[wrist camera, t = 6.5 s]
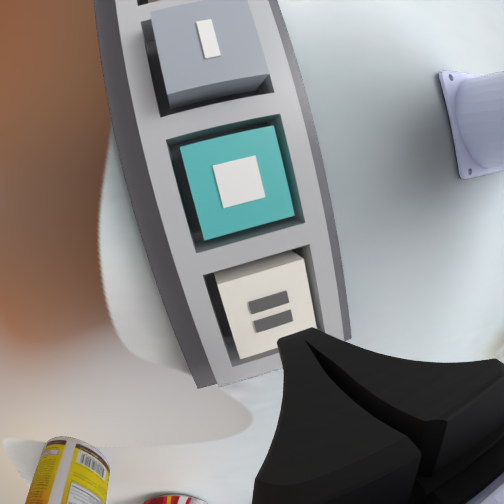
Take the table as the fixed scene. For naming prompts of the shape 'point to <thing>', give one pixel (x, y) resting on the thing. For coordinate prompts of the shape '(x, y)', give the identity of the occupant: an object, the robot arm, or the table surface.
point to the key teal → (237, 181)
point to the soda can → (174, 500)
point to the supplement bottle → (69, 474)
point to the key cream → (266, 301)
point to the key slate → (208, 50)
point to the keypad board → (179, 193)
